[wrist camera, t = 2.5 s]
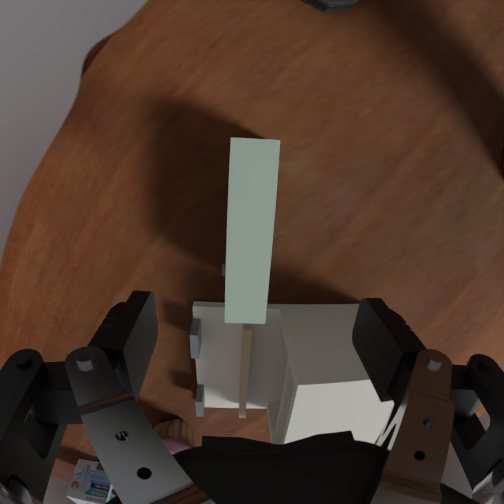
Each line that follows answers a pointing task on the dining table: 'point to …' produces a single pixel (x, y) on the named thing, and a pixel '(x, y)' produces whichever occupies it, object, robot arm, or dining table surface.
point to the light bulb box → (90, 484)
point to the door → (250, 228)
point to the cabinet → (287, 370)
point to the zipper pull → (331, 4)
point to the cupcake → (175, 435)
